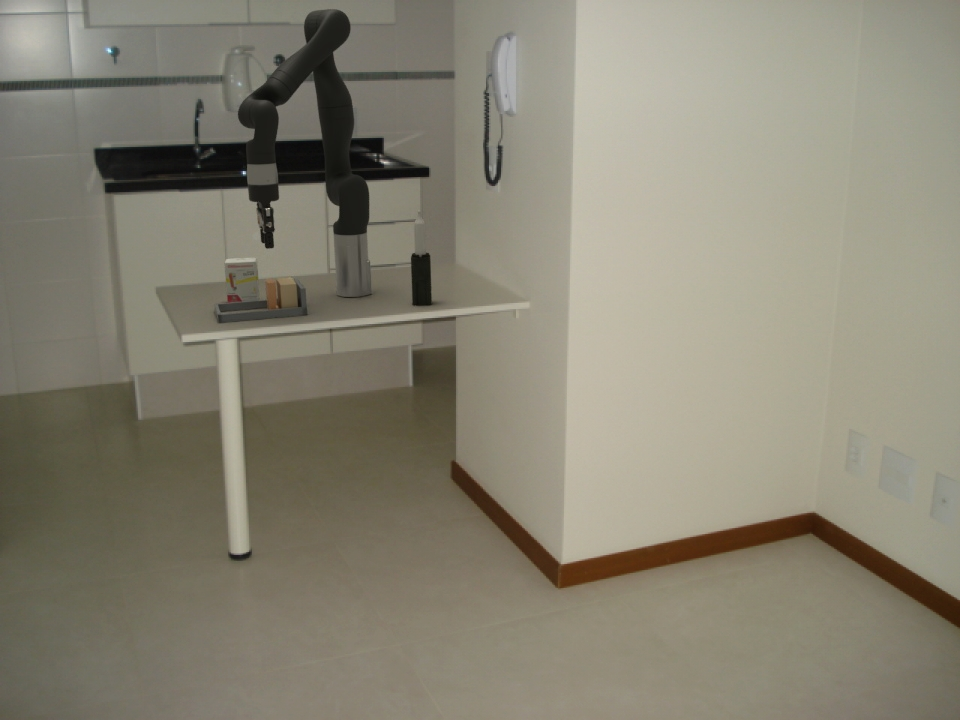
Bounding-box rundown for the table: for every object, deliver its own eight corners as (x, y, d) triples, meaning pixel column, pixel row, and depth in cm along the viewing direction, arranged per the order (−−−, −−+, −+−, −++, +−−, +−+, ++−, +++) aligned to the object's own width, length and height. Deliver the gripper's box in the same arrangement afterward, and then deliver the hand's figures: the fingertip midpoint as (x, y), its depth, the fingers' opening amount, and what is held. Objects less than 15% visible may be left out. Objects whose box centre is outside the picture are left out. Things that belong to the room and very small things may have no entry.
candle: (431, 300, 271) (429, 208, 264) (431, 305, 266) (428, 211, 259) (412, 301, 271) (409, 208, 264) (412, 305, 266) (409, 211, 259)
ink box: (227, 305, 270) (223, 262, 266) (228, 301, 274) (224, 258, 271) (259, 303, 271) (256, 260, 268) (260, 299, 276) (256, 257, 272)
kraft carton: (293, 306, 268) (291, 277, 265) (298, 314, 259) (296, 283, 257) (278, 307, 266) (276, 278, 264) (282, 315, 258) (280, 285, 256)
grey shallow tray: (299, 303, 270) (297, 278, 268) (307, 314, 258) (305, 288, 256) (214, 311, 263) (212, 285, 261) (218, 322, 251) (216, 295, 249)
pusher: (273, 306, 267) (271, 276, 264) (279, 315, 257) (276, 284, 255) (266, 306, 266) (264, 277, 264) (271, 315, 256) (268, 285, 254)
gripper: (281, 184, 247) (286, 249, 251) (274, 178, 260) (278, 240, 264) (250, 185, 244) (255, 251, 249) (244, 179, 257) (249, 242, 262)
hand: (267, 245), depth 257 cm, fingers open, 8 cm apart
